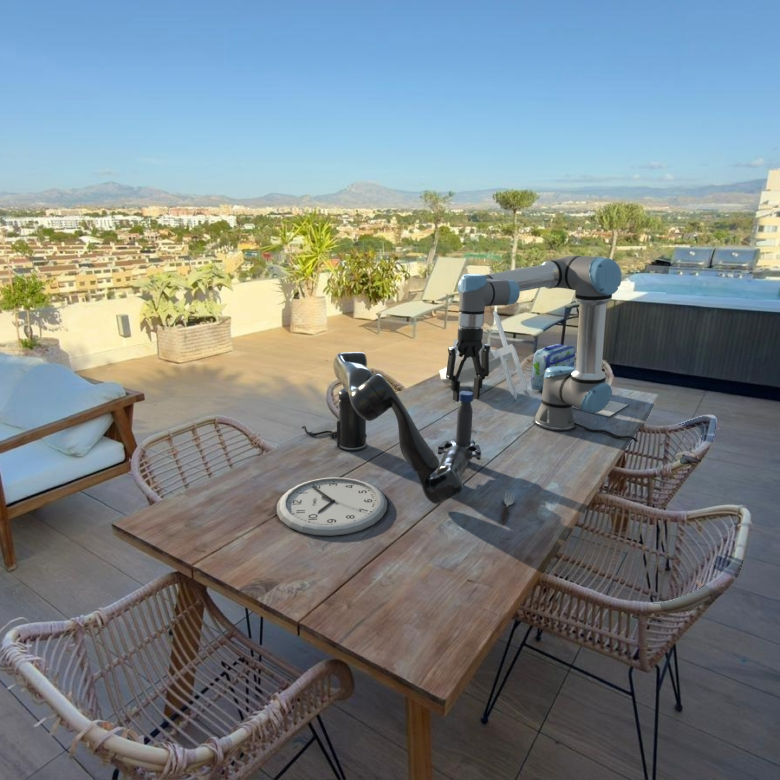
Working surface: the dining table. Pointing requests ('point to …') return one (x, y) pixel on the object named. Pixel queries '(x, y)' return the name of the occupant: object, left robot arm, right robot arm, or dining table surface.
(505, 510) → the fork
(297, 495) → the wall clock
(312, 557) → the dining table surface
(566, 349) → the lunch box
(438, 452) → the left robot arm
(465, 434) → the bottle
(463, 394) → the cap
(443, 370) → the white plastic object
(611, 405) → the invitation card
